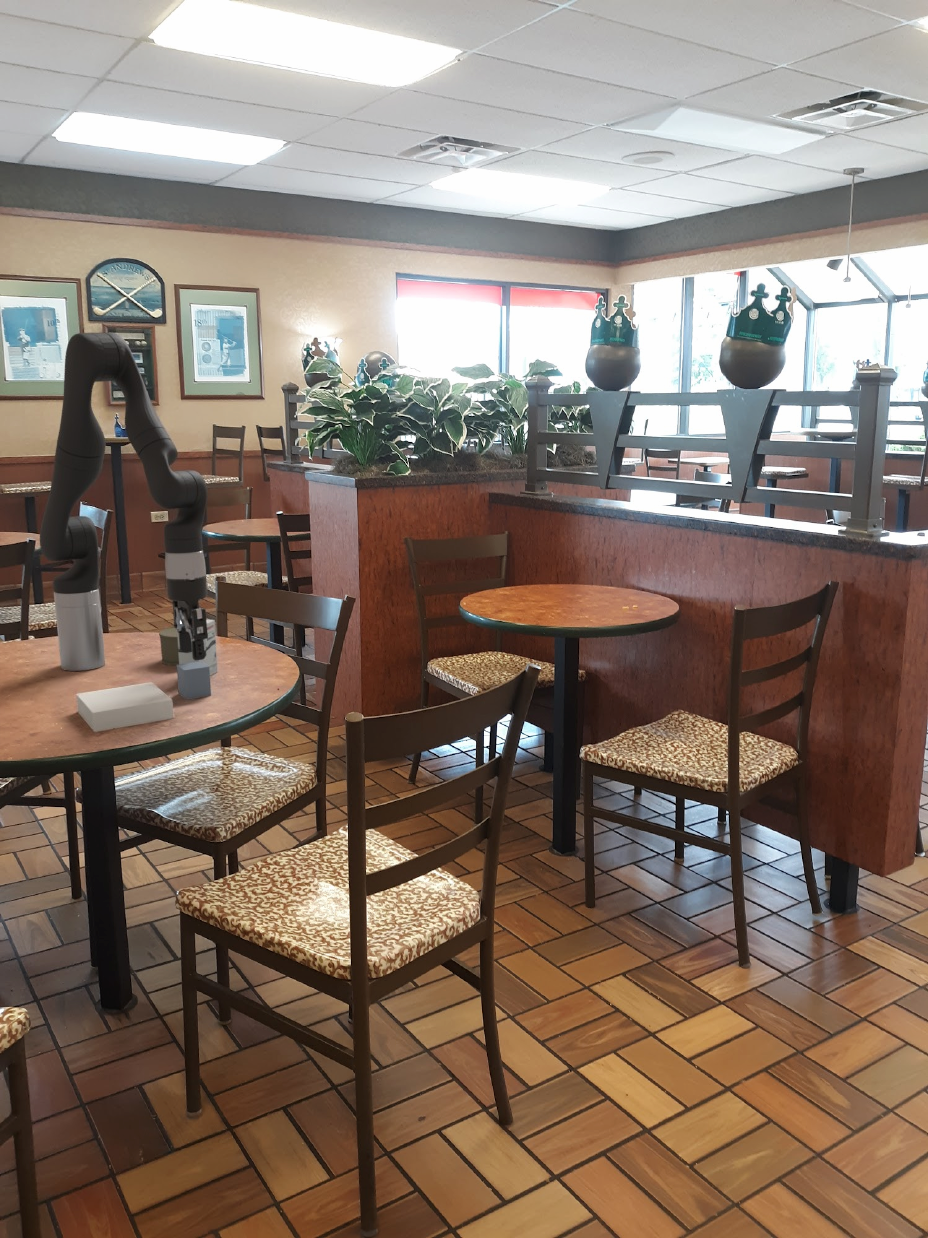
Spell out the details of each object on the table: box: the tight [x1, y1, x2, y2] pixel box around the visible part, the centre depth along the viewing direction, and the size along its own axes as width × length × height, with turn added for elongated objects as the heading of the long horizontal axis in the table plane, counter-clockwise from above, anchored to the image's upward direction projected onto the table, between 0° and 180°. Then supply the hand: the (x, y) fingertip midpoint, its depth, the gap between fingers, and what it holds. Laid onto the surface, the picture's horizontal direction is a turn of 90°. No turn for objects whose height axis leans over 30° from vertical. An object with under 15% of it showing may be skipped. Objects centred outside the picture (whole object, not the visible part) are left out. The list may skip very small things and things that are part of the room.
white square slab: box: [76, 681, 175, 733], centre depth 180 cm, size 14×14×4 cm
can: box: [158, 626, 179, 667], centre depth 219 cm, size 12×12×7 cm
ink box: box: [177, 618, 218, 677], centre depth 205 cm, size 9×5×12 cm, turn 168°
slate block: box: [176, 661, 212, 700], centre depth 192 cm, size 5×5×6 cm
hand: (192, 655), depth 191 cm, fingers open, 8 cm apart
